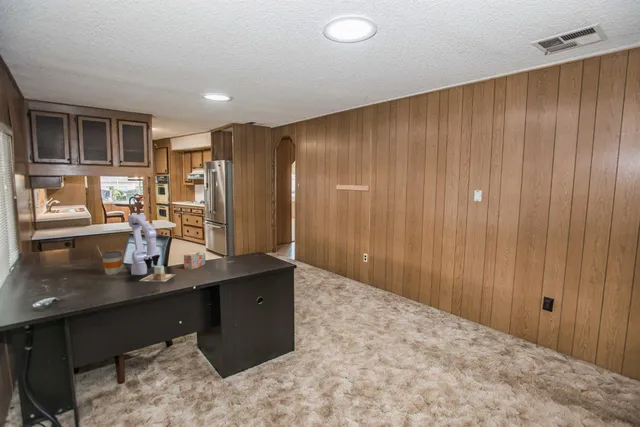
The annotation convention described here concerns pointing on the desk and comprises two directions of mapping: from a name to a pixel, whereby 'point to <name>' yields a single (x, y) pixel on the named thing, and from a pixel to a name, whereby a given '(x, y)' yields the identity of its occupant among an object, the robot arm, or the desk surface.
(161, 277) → the oak block
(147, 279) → the baseplate
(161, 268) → the sage block
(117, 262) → the reusable coffee cup
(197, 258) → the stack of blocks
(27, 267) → the desk surface
